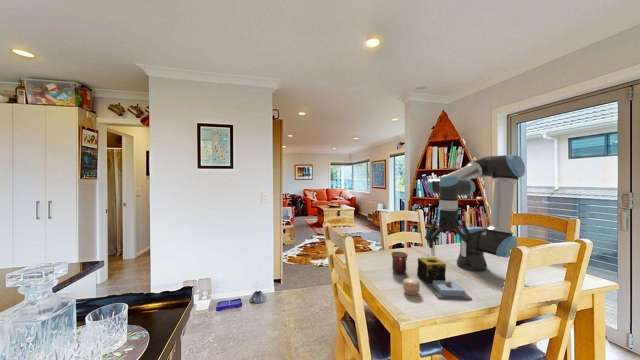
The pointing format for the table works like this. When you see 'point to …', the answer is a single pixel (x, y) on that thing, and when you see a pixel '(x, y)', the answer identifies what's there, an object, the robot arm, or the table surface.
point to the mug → (399, 262)
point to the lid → (448, 288)
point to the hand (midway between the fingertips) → (448, 255)
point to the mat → (447, 296)
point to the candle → (431, 270)
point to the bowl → (411, 286)
